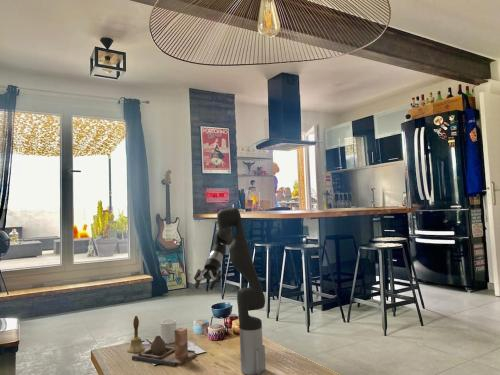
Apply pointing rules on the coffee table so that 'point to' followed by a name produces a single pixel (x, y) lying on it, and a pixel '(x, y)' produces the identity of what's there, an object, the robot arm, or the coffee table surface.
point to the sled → (175, 349)
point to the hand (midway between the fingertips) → (203, 288)
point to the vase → (158, 346)
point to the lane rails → (156, 360)
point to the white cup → (168, 331)
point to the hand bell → (136, 339)
